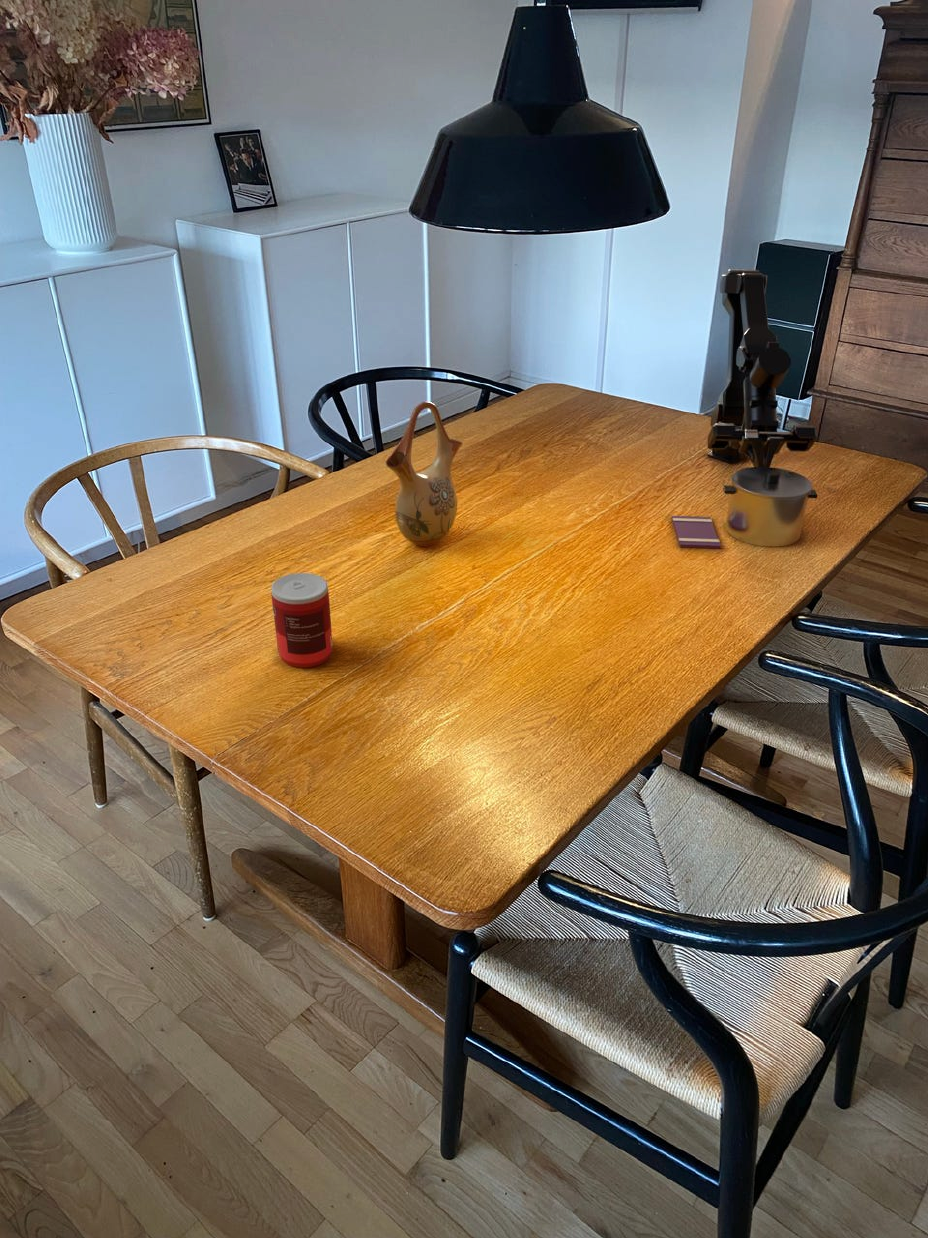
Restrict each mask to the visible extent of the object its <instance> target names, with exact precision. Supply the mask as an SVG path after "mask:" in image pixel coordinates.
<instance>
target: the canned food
mask: <svg viewBox="0 0 928 1238" xmlns="http://www.w3.org/2000/svg"><path fill="white" fill-rule="evenodd" d="M270 587H271V588H270V595H271V604H272V613H273V622H274V629H275V636H276V644H277V652H278V655H279V657H280V659H281V660H282V661H283V663H285V664H287V665H289V666H292V667H295V668H303V669H305V668H312V667H316V666H320V665H322V664H323V663H325V662H327V661H328V660H329V659H330V658H331V656H332V653H333V649H334V644H333V633H332V632H333V631H332V618H331V606H330V605H331V603H330V593H329V586H328V581H327V580H326V579H325V578H323V577H322V576H320V575H318V574H314V573H309V572H294V573H290V574H286V575H282V576H281V577H279V578H277V579H275V580H274V581H273V583H272V584H271V586H270Z"/></svg>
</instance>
